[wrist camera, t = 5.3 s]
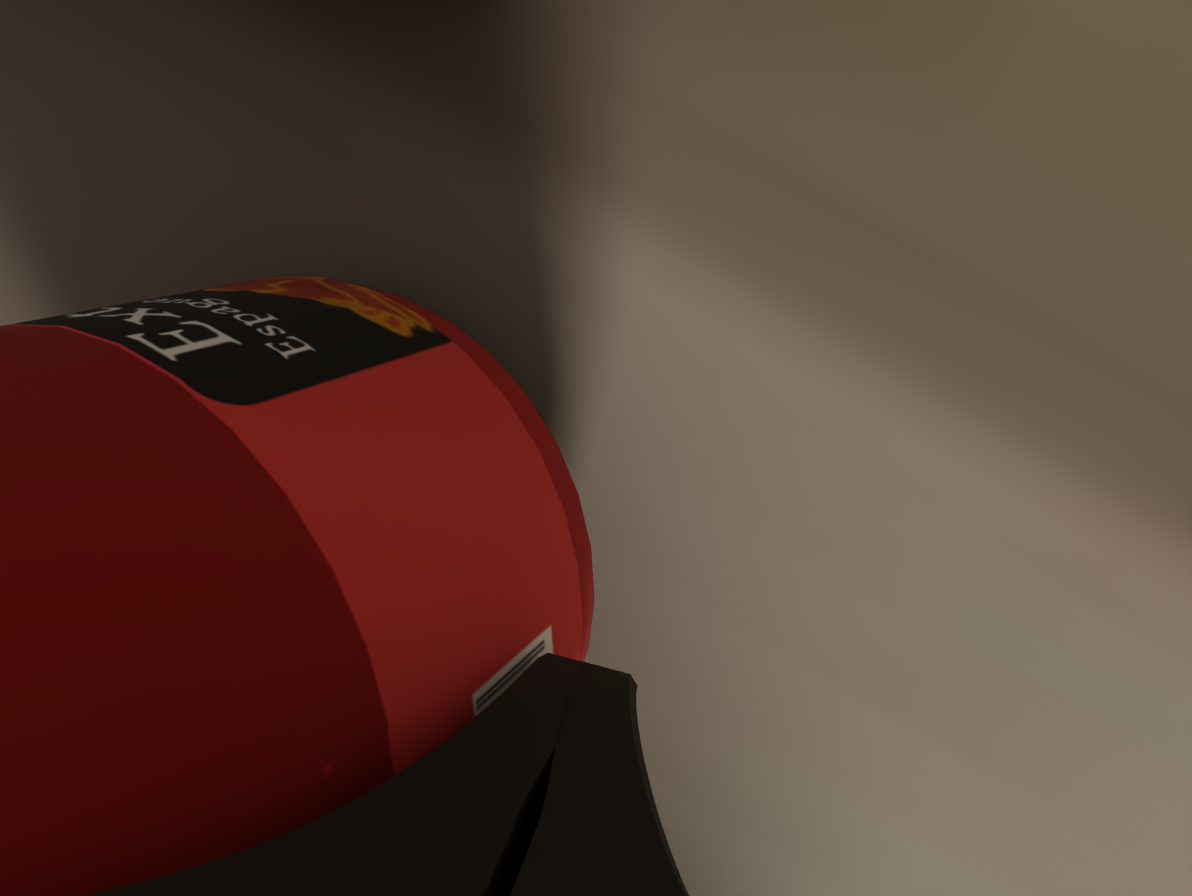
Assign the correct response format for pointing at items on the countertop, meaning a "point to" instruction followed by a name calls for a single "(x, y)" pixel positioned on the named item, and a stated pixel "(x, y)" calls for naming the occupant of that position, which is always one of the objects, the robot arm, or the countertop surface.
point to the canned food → (256, 567)
